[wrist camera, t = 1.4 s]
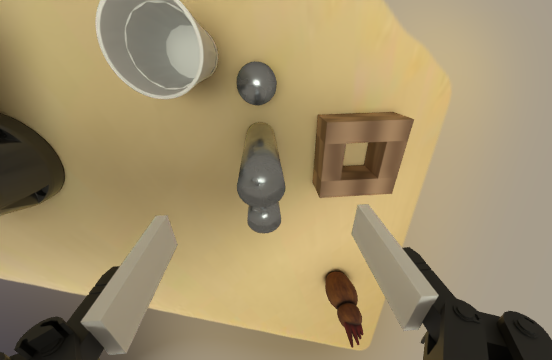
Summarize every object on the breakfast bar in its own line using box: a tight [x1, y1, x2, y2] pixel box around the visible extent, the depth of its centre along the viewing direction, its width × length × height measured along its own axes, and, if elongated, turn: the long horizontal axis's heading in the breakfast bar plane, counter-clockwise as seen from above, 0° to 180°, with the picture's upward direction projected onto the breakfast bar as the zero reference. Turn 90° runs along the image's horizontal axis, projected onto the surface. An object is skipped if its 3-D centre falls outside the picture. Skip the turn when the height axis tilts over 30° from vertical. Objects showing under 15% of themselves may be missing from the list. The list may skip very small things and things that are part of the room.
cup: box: [96, 0, 218, 99], centre depth 22 cm, size 8×8×12 cm
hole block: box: [313, 112, 414, 198], centre depth 33 cm, size 12×12×5 cm
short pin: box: [237, 62, 276, 105], centre depth 26 cm, size 4×4×7 cm
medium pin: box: [248, 201, 281, 233], centre depth 32 cm, size 4×4×11 cm
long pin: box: [237, 122, 285, 208], centre depth 26 cm, size 4×4×16 cm
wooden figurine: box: [325, 271, 363, 347], centre depth 45 cm, size 7×6×15 cm
